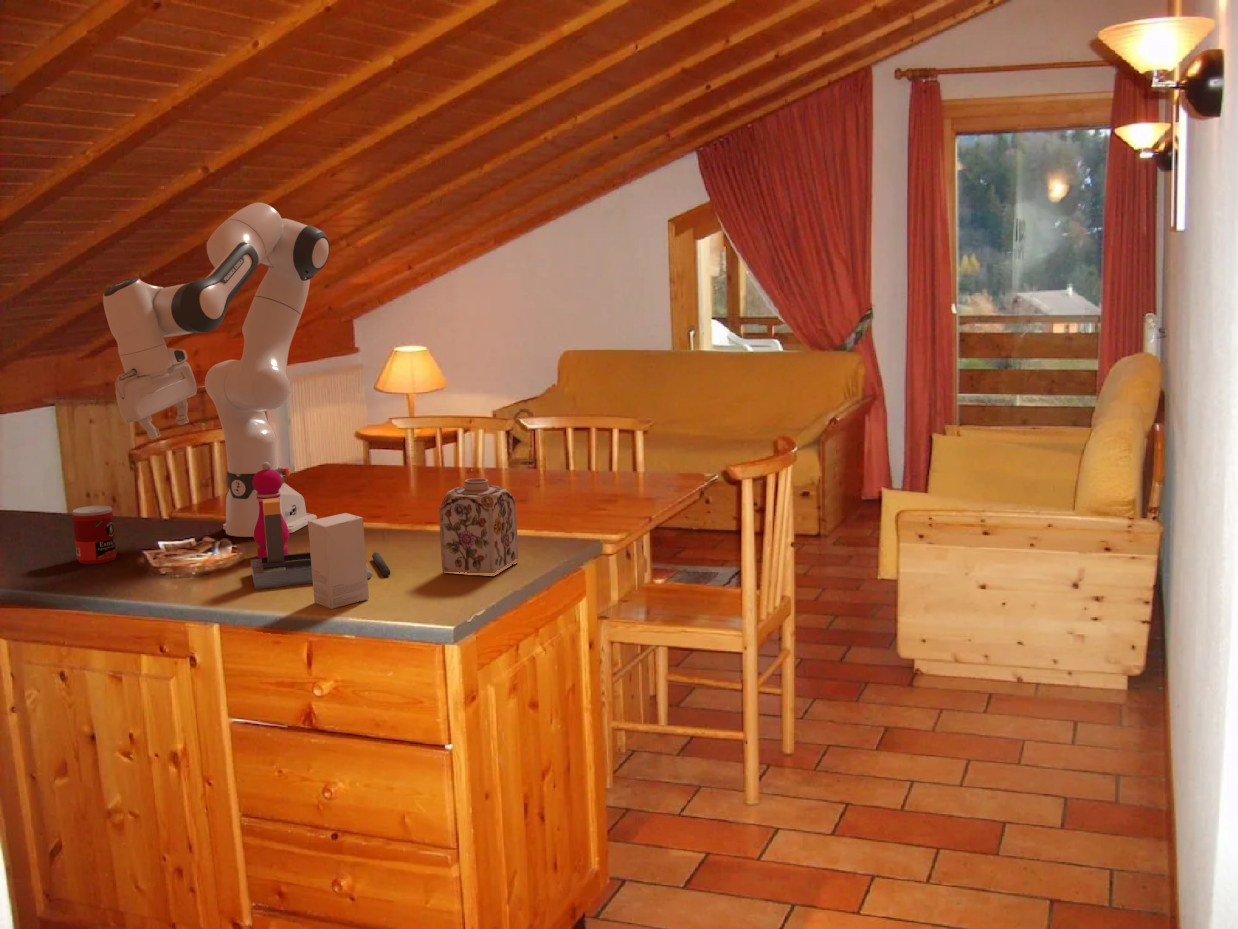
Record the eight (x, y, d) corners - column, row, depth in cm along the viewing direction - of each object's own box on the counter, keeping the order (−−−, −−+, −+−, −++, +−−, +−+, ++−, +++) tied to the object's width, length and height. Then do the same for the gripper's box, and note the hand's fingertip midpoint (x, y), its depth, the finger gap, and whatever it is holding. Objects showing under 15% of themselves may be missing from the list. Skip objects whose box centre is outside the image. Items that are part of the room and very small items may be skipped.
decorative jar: (440, 574, 247) (435, 484, 244) (467, 559, 258) (463, 473, 254) (495, 578, 243) (491, 486, 240) (520, 563, 253) (517, 475, 250)
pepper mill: (297, 552, 268) (290, 459, 264) (278, 560, 261) (270, 465, 257) (268, 550, 270) (261, 458, 267) (248, 559, 263) (240, 464, 260)
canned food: (103, 565, 262) (98, 513, 260) (69, 564, 263) (63, 512, 261) (124, 556, 269) (119, 505, 267) (91, 555, 271) (86, 505, 269)
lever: (268, 566, 244) (263, 503, 241) (267, 561, 247) (262, 499, 245) (284, 564, 244) (279, 501, 242) (283, 559, 248) (278, 497, 246)
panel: (254, 589, 239) (253, 569, 239) (251, 574, 251) (250, 554, 250) (350, 578, 245) (349, 558, 244) (343, 564, 256) (342, 545, 256)
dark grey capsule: (354, 561, 259) (353, 553, 258) (379, 558, 260) (379, 551, 260) (364, 579, 244) (363, 571, 244) (391, 576, 246) (390, 568, 246)
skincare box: (352, 593, 235) (346, 511, 232) (371, 600, 230) (366, 517, 227) (312, 603, 229) (305, 519, 226) (330, 610, 224) (324, 524, 222)
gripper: (126, 374, 234) (150, 444, 238) (190, 348, 253) (212, 414, 256) (99, 379, 236) (123, 449, 240) (165, 353, 255) (186, 418, 258)
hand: (170, 430), depth 248 cm, fingers open, 8 cm apart
